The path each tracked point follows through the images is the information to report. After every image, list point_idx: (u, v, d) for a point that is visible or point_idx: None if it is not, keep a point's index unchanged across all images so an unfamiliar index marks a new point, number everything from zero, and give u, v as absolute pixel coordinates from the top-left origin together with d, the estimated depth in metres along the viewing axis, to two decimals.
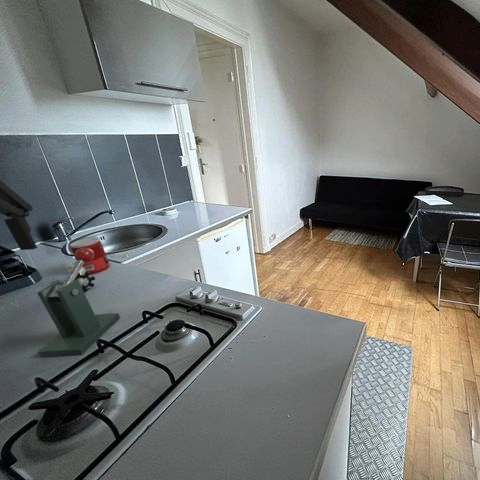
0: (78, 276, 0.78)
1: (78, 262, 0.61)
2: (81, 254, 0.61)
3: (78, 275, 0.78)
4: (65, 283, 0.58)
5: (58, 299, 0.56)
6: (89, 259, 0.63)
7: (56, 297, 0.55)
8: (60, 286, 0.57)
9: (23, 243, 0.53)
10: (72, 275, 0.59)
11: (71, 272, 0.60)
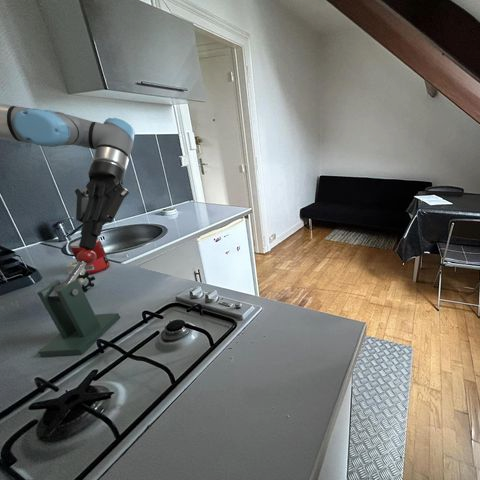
0: (78, 276, 0.78)
1: (80, 263, 0.62)
2: (83, 255, 0.62)
3: (78, 275, 0.78)
4: (66, 283, 0.58)
5: (58, 299, 0.56)
6: (91, 261, 0.63)
7: (56, 296, 0.55)
8: (61, 286, 0.57)
9: None
10: (73, 276, 0.59)
11: (72, 273, 0.60)
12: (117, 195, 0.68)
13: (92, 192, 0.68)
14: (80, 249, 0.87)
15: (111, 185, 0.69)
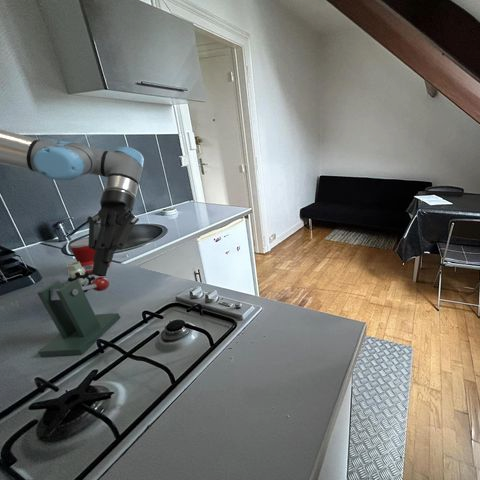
0: (78, 276, 0.78)
1: (92, 283, 0.65)
2: (100, 279, 0.66)
3: (78, 275, 0.78)
4: None
5: (54, 295, 0.56)
6: (102, 286, 0.66)
7: (56, 290, 0.56)
8: None
9: None
10: None
11: (81, 286, 0.62)
12: (128, 223, 0.71)
13: (104, 220, 0.71)
14: (80, 249, 0.87)
15: (122, 213, 0.72)
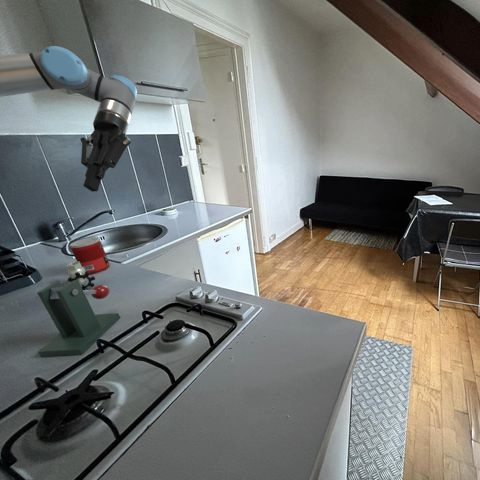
0: (78, 276, 0.78)
1: (93, 290, 0.65)
2: (101, 286, 0.66)
3: (78, 275, 0.78)
4: None
5: (54, 294, 0.56)
6: (102, 293, 0.66)
7: (57, 289, 0.56)
8: None
9: None
10: None
11: None
12: (120, 143, 0.73)
13: (96, 139, 0.72)
14: (80, 249, 0.87)
15: (114, 134, 0.74)
